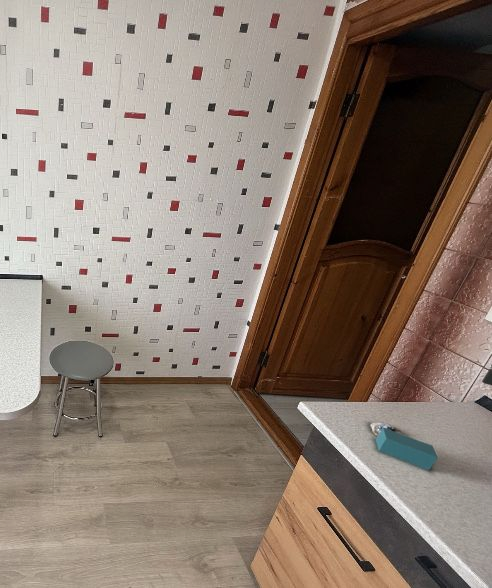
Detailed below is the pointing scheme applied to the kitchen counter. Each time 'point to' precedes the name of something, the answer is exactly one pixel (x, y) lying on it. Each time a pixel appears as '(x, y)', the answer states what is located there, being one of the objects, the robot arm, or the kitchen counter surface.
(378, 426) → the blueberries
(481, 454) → the kitchen counter surface
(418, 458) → the teal rectangular block
